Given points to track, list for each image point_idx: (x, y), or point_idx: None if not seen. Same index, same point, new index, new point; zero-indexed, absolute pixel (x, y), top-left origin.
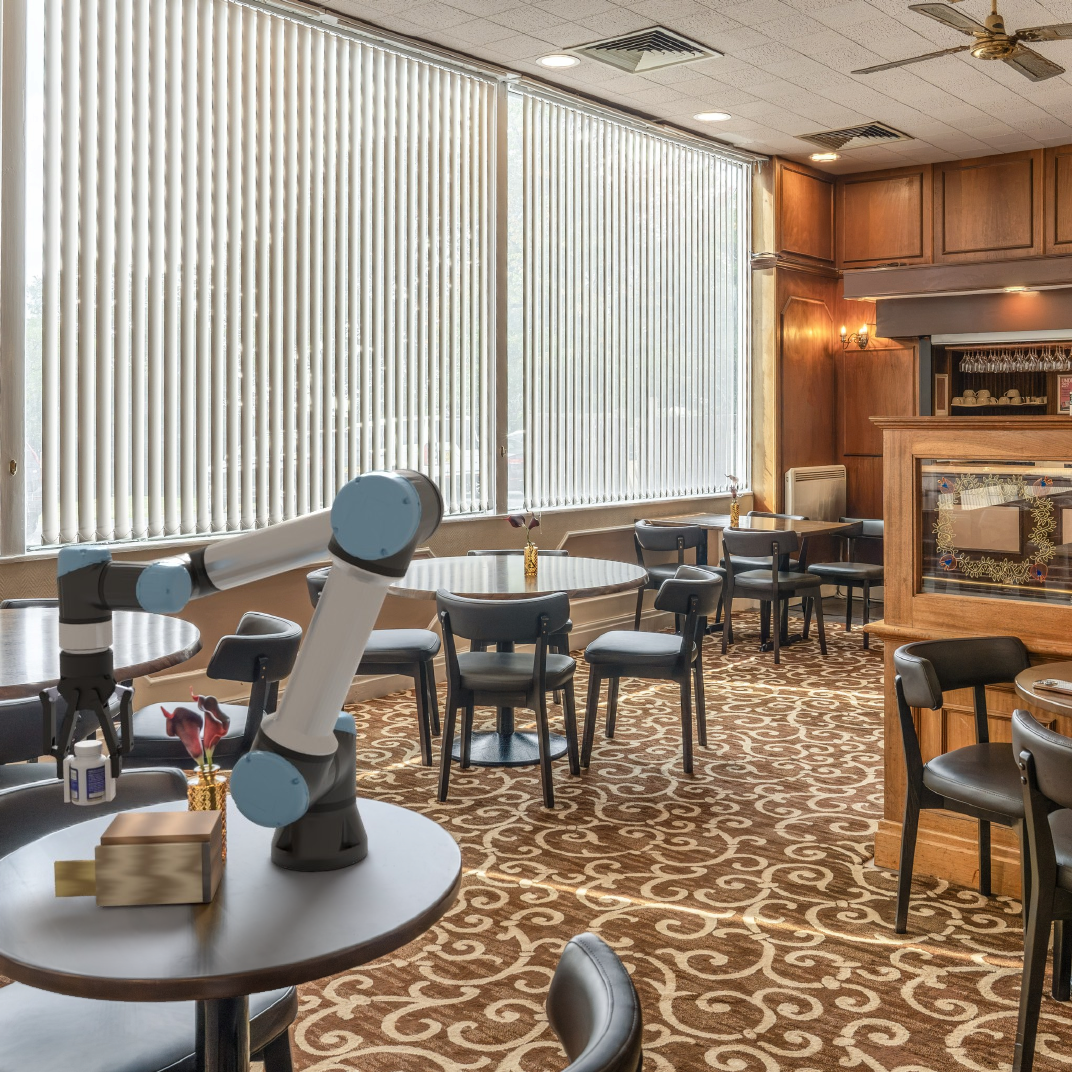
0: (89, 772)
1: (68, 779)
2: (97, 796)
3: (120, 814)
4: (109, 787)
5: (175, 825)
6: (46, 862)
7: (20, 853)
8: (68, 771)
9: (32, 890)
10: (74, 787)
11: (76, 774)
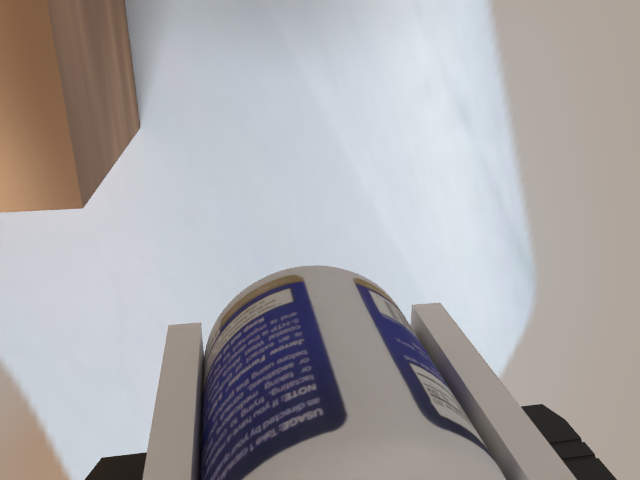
0: (311, 405)
1: (473, 392)
2: (241, 310)
3: (59, 187)
4: (167, 379)
5: None
6: (431, 273)
7: (517, 337)
8: (502, 437)
9: (422, 38)
10: (407, 337)
11: (424, 393)
